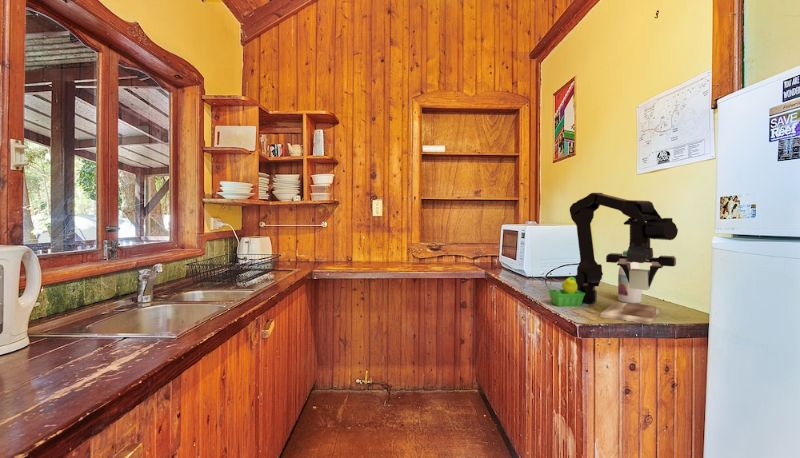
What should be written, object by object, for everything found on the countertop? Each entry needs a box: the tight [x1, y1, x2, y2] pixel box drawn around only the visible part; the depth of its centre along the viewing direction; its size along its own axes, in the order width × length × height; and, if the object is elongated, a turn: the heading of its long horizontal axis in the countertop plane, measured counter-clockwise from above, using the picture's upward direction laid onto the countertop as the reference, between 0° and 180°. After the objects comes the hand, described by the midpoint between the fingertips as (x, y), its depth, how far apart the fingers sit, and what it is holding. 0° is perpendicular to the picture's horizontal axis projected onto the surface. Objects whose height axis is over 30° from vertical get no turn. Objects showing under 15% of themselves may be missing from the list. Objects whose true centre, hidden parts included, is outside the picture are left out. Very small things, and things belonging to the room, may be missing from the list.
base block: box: [623, 303, 657, 319], centre depth 118 cm, size 8×8×2 cm
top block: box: [629, 268, 651, 291], centre depth 118 cm, size 5×5×6 cm
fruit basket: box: [547, 276, 585, 307], centre depth 135 cm, size 11×9×11 cm
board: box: [599, 301, 662, 325], centre depth 122 cm, size 14×22×1 cm, turn 137°
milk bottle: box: [617, 250, 643, 304], centre depth 139 cm, size 8×8×20 cm
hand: (639, 285), depth 118 cm, fingers closed on top block, 5 cm apart
